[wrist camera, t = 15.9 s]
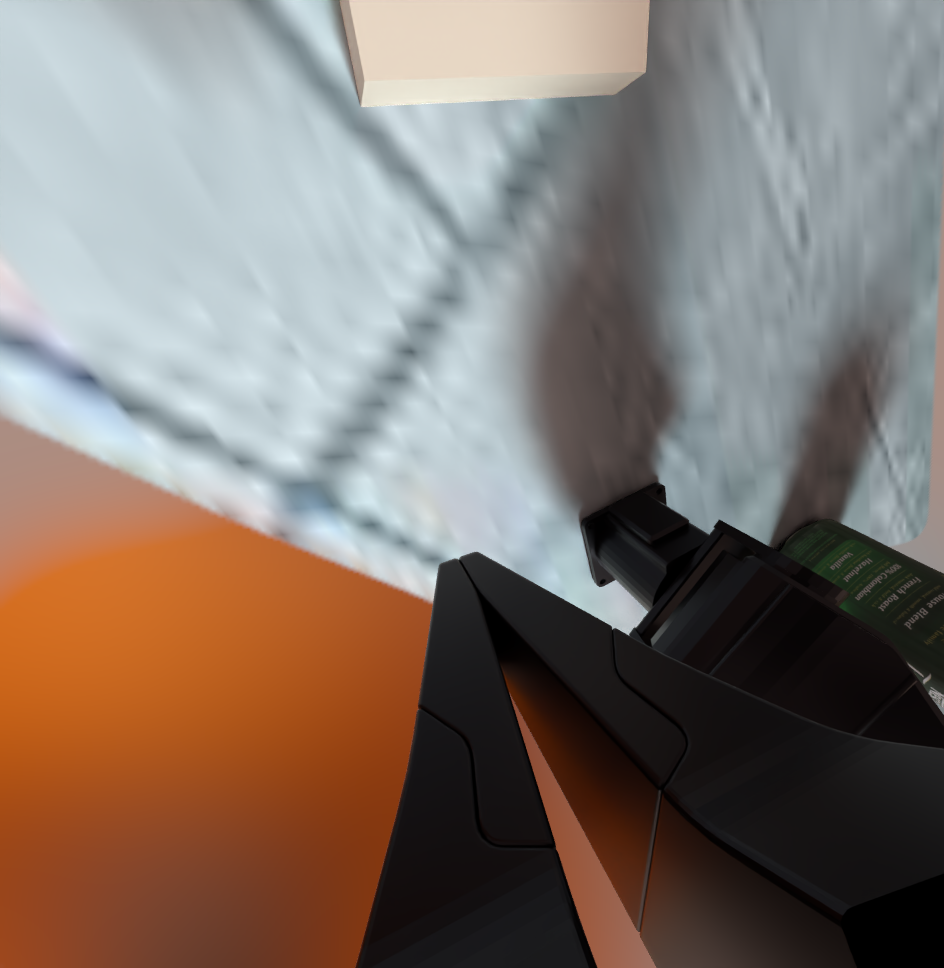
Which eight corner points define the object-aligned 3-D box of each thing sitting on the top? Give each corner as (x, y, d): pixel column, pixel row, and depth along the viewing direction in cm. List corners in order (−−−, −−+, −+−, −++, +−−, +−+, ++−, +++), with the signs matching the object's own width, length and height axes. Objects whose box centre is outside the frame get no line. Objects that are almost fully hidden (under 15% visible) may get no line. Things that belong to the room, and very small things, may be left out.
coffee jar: (755, 559, 35) (1107, 772, 19) (824, 502, 35) (1239, 671, 19) (774, 608, 40) (1066, 811, 24) (834, 559, 40) (1170, 732, 24)
